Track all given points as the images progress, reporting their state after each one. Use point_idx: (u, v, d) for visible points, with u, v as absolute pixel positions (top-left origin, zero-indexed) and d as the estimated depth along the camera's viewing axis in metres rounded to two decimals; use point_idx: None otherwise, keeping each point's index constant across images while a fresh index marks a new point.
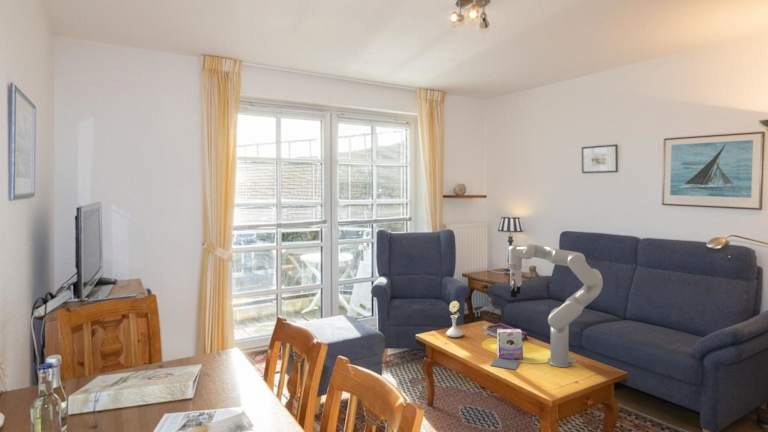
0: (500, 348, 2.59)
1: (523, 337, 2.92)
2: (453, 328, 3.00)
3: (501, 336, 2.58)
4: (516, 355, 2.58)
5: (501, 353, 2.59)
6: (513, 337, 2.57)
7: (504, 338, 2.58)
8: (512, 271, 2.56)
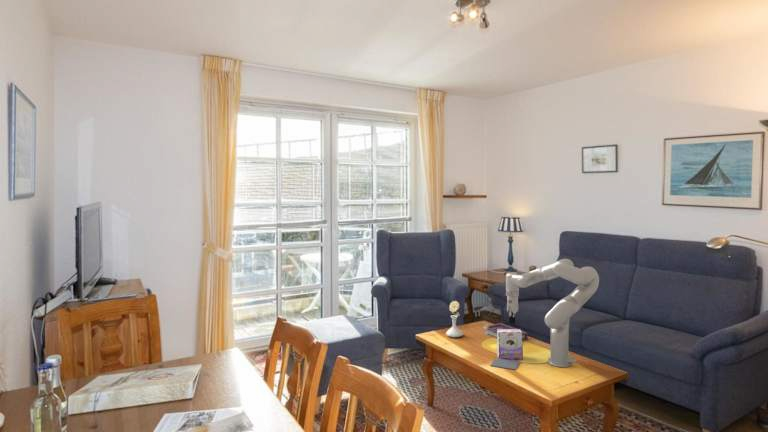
0: (500, 348, 2.59)
1: (523, 337, 2.92)
2: (453, 328, 3.00)
3: (501, 336, 2.58)
4: (516, 356, 2.58)
5: (501, 354, 2.59)
6: (513, 337, 2.57)
7: (504, 339, 2.58)
8: (509, 298, 2.63)
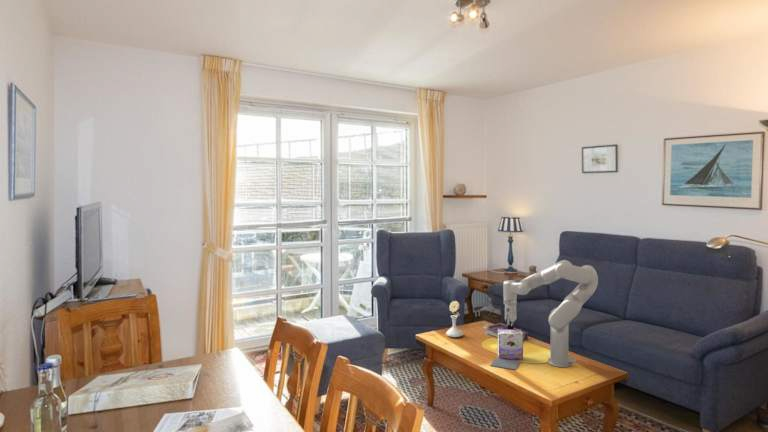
0: (500, 349, 2.58)
1: (523, 337, 2.92)
2: (453, 328, 3.00)
3: (501, 337, 2.56)
4: (517, 356, 2.57)
5: (502, 354, 2.58)
6: (514, 339, 2.55)
7: (504, 340, 2.56)
8: (507, 306, 2.58)
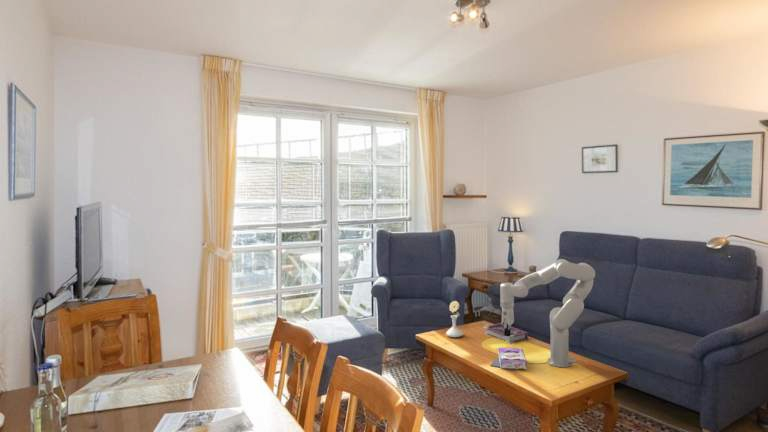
0: None
1: (524, 337, 2.92)
2: (453, 328, 3.00)
3: None
4: None
5: None
6: None
7: None
8: (504, 310, 2.51)
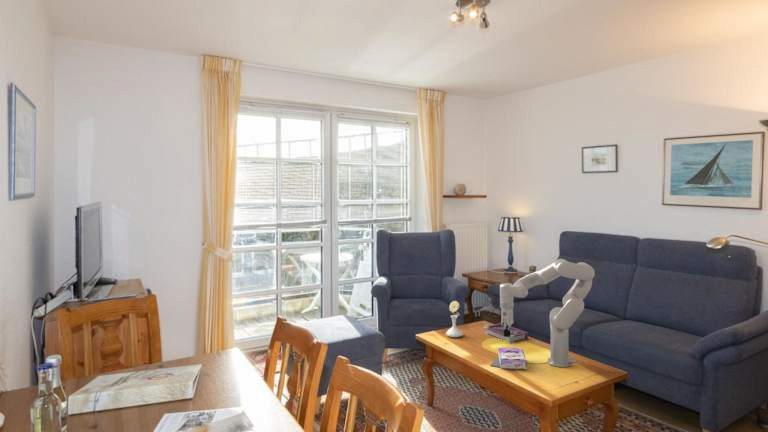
0: None
1: (524, 337, 2.92)
2: (453, 328, 3.00)
3: None
4: None
5: None
6: None
7: None
8: (503, 310, 2.50)
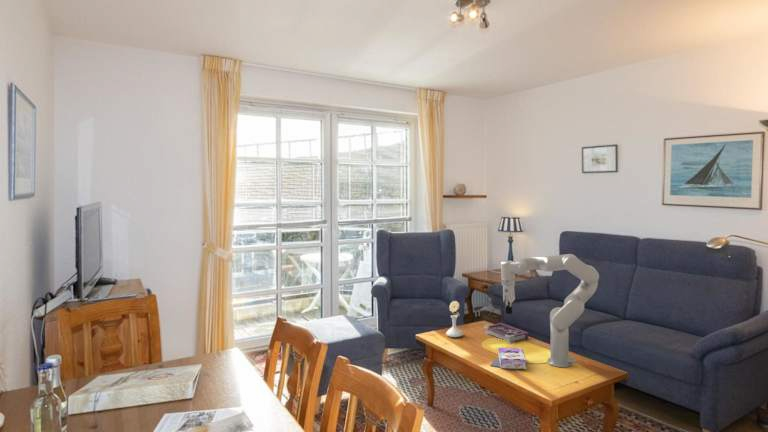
0: None
1: (524, 337, 2.92)
2: (453, 328, 3.00)
3: None
4: None
5: None
6: None
7: None
8: (505, 287, 2.53)
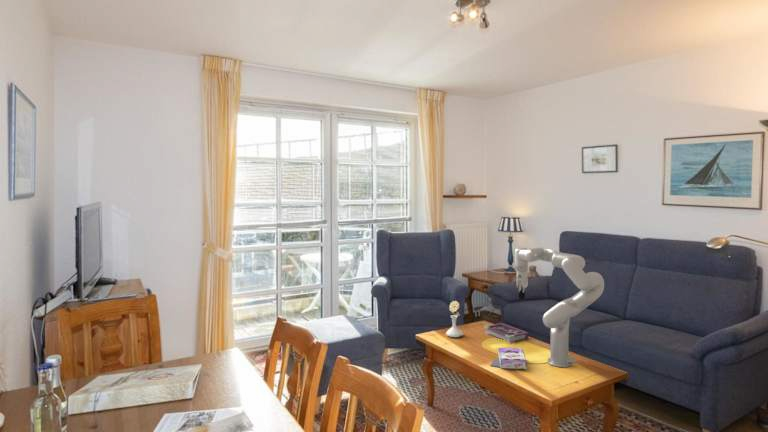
0: None
1: (524, 337, 2.92)
2: (453, 328, 3.00)
3: None
4: None
5: None
6: None
7: None
8: (518, 273, 2.62)
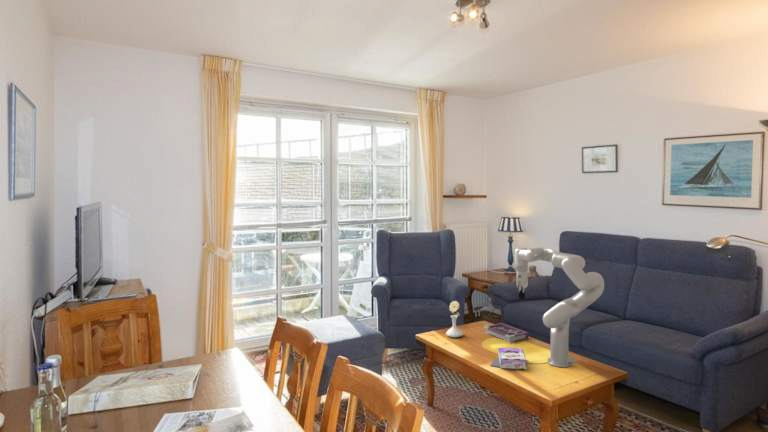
0: None
1: (524, 337, 2.92)
2: (453, 328, 3.00)
3: None
4: None
5: None
6: None
7: None
8: (518, 273, 2.62)
